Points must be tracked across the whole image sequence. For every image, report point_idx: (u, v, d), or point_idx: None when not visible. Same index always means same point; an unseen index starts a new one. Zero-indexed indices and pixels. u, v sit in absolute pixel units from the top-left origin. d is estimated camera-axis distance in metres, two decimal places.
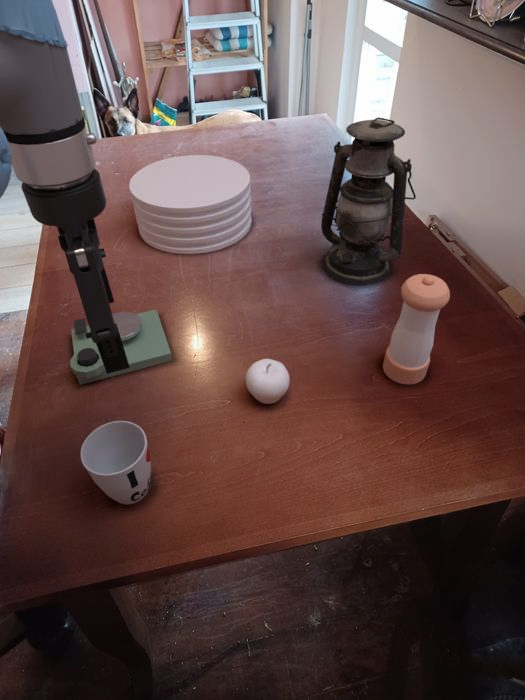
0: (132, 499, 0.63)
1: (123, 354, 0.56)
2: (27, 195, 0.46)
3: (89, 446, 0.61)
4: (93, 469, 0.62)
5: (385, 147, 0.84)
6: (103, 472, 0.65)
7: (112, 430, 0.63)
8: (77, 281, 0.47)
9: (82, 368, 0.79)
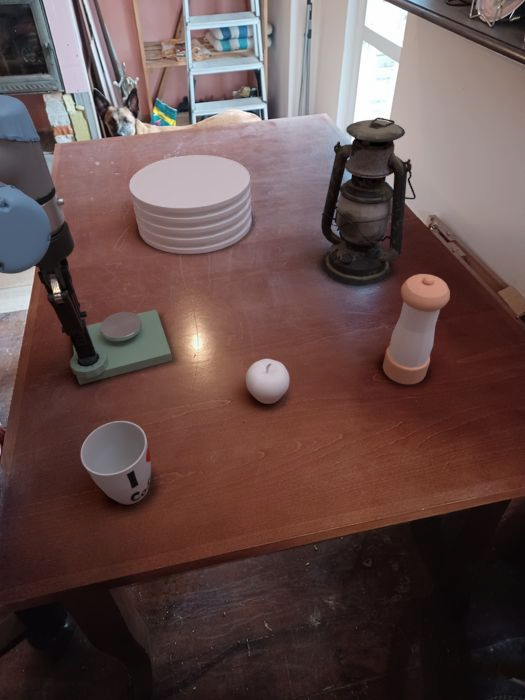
0: (132, 499, 0.63)
1: (90, 344, 0.78)
2: None
3: (89, 446, 0.61)
4: (93, 469, 0.62)
5: (385, 147, 0.84)
6: (103, 472, 0.65)
7: (112, 430, 0.63)
8: (56, 310, 0.66)
9: (82, 368, 0.79)
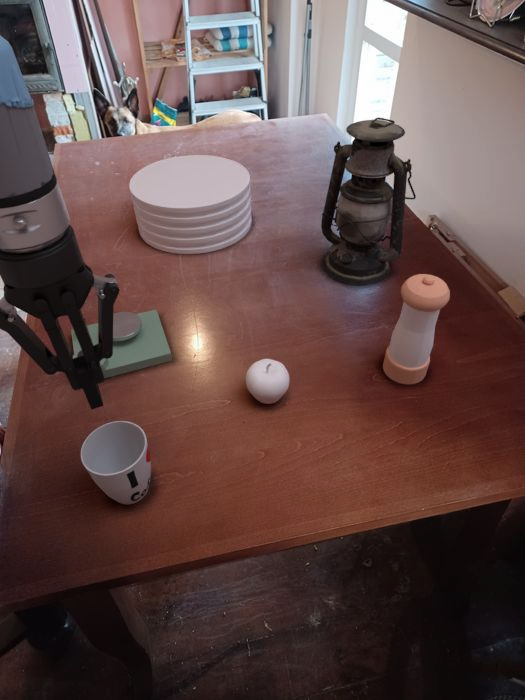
0: (132, 499, 0.63)
1: None
2: None
3: (89, 446, 0.61)
4: (93, 469, 0.62)
5: (385, 147, 0.84)
6: (103, 472, 0.65)
7: (112, 430, 0.63)
8: None
9: None
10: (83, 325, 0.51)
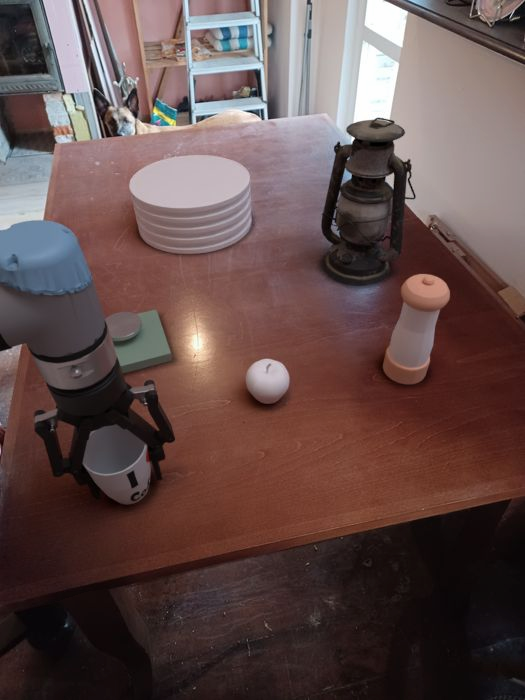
0: (132, 499, 0.63)
1: (90, 490, 0.62)
2: None
3: (89, 446, 0.61)
4: (93, 469, 0.62)
5: (385, 147, 0.84)
6: (103, 472, 0.65)
7: (112, 430, 0.63)
8: None
9: None
10: (135, 425, 0.57)
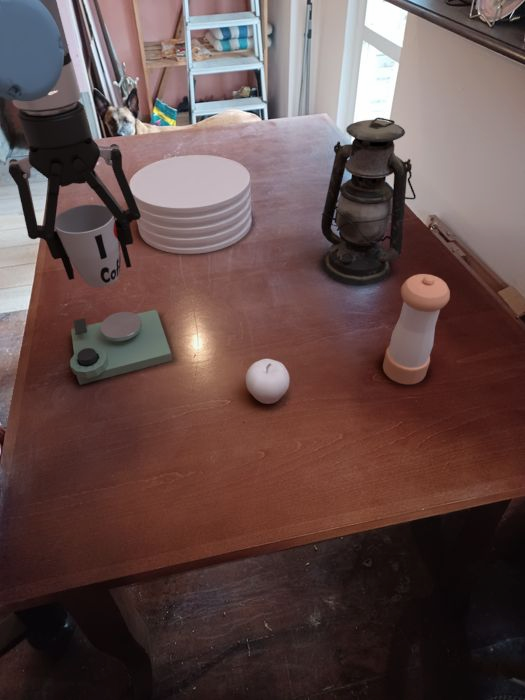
0: (102, 277, 0.69)
1: None
2: None
3: (62, 222, 0.67)
4: None
5: (385, 147, 0.84)
6: None
7: (84, 214, 0.69)
8: None
9: (82, 368, 0.79)
10: (102, 188, 0.63)
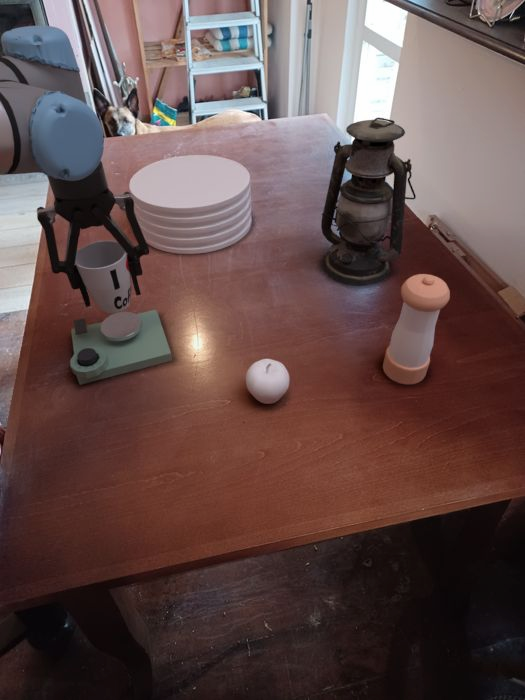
0: (115, 304, 0.78)
1: None
2: None
3: (80, 257, 0.77)
4: None
5: (385, 147, 0.84)
6: None
7: (99, 249, 0.79)
8: None
9: (82, 368, 0.79)
10: (116, 230, 0.72)
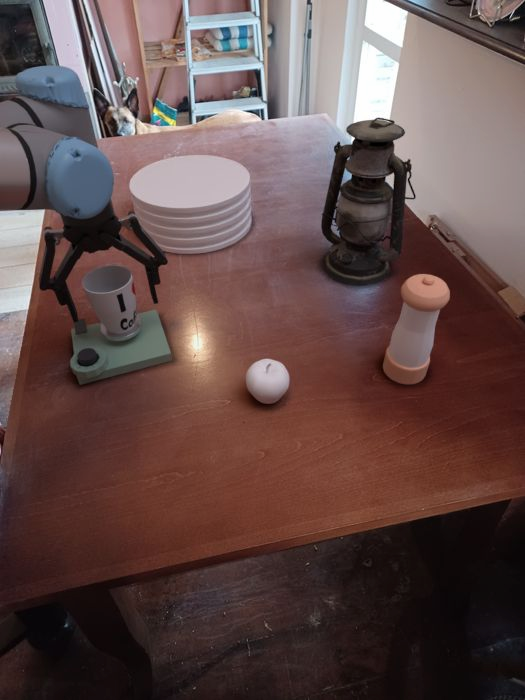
0: (121, 326, 0.82)
1: (69, 310, 0.79)
2: None
3: (88, 281, 0.80)
4: None
5: (385, 147, 0.84)
6: None
7: (106, 272, 0.82)
8: (45, 246, 0.72)
9: (82, 368, 0.79)
10: (128, 247, 0.75)
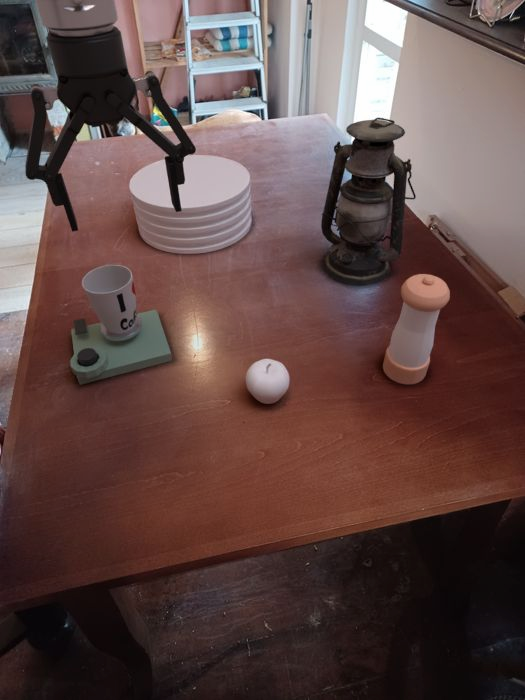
0: (121, 326, 0.82)
1: (66, 213, 0.60)
2: None
3: (88, 281, 0.80)
4: None
5: (385, 147, 0.84)
6: None
7: (106, 272, 0.82)
8: (33, 114, 0.53)
9: (82, 368, 0.79)
10: (145, 122, 0.56)
